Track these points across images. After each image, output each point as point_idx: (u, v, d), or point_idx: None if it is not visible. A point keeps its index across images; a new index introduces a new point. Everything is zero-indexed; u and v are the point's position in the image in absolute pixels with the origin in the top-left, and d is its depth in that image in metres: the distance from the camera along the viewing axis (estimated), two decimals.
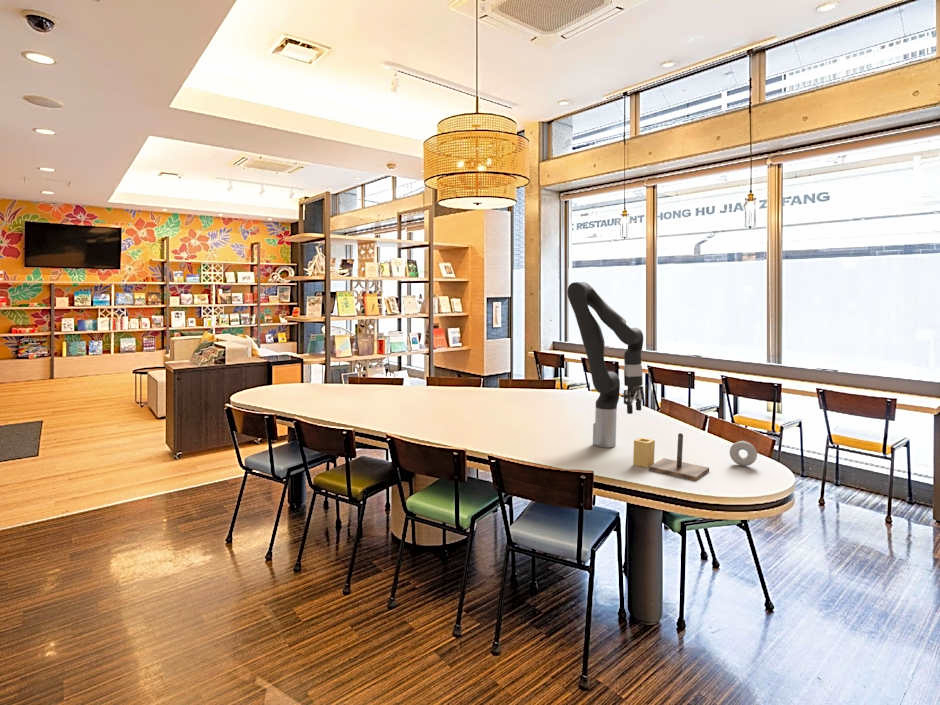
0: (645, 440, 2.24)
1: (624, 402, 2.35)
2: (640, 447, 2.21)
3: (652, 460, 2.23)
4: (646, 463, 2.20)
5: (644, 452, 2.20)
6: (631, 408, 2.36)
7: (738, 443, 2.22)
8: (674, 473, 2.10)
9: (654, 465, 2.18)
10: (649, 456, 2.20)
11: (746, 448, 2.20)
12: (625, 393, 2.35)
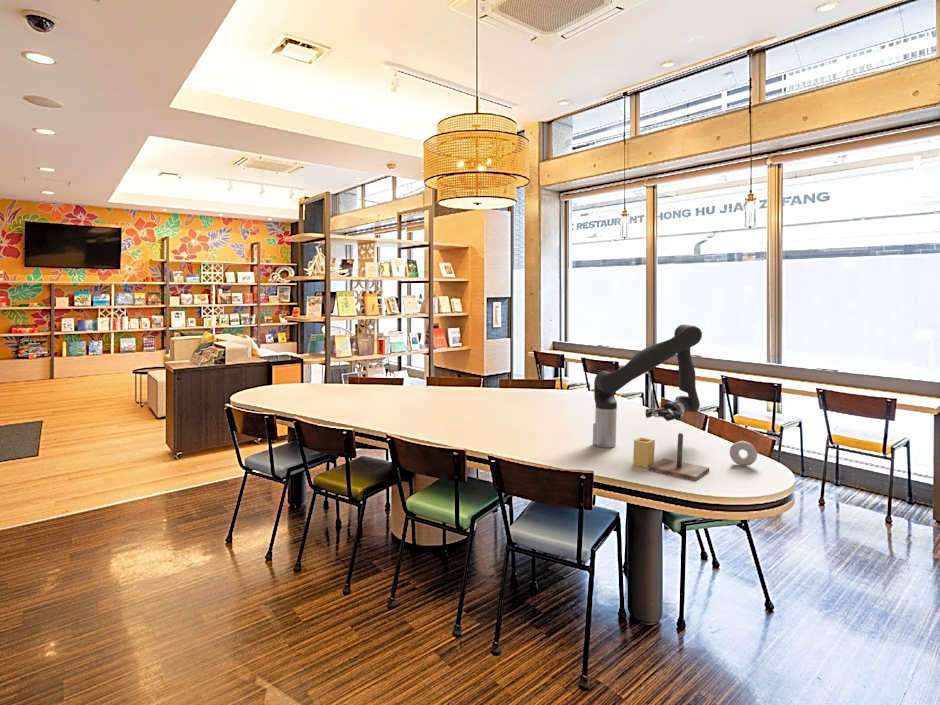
0: (645, 440, 2.24)
1: (679, 415, 2.29)
2: (640, 447, 2.21)
3: (652, 460, 2.23)
4: (646, 463, 2.20)
5: (644, 452, 2.20)
6: (669, 419, 2.29)
7: (738, 443, 2.22)
8: (674, 473, 2.10)
9: (654, 465, 2.18)
10: (649, 456, 2.20)
11: (746, 448, 2.20)
12: (682, 414, 2.32)
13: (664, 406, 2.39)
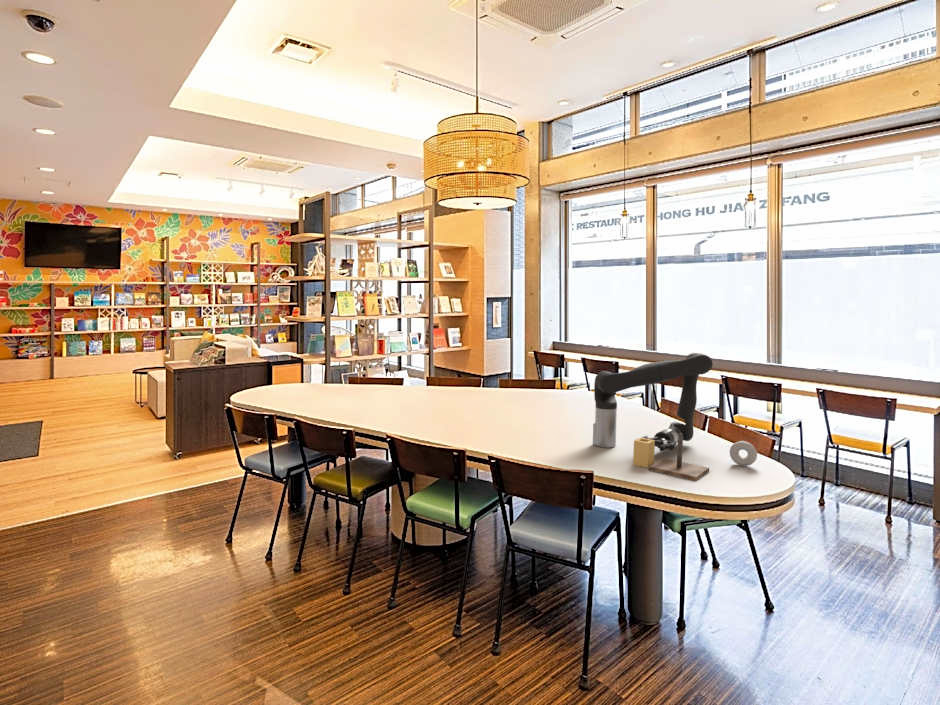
0: (645, 440, 2.24)
1: (672, 445, 2.26)
2: (640, 447, 2.21)
3: (652, 460, 2.23)
4: (646, 463, 2.20)
5: (644, 452, 2.20)
6: None
7: (738, 443, 2.21)
8: (674, 473, 2.10)
9: (654, 465, 2.18)
10: (649, 456, 2.20)
11: (746, 448, 2.20)
12: (675, 444, 2.29)
13: (658, 435, 2.37)
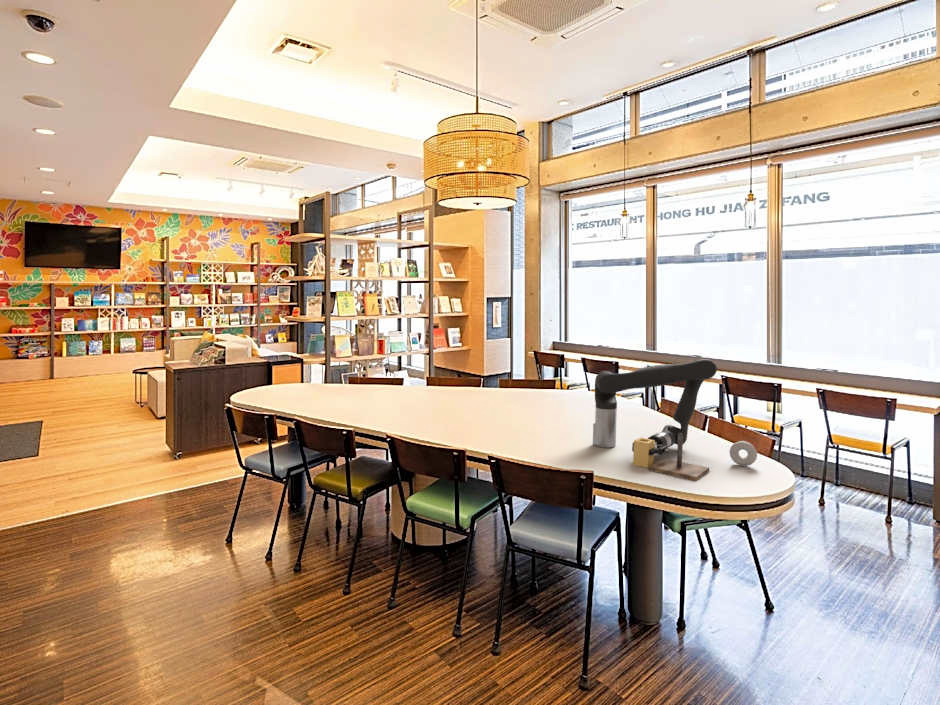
0: (645, 440, 2.24)
1: (661, 449, 2.21)
2: (640, 447, 2.21)
3: (652, 460, 2.23)
4: (646, 463, 2.20)
5: (644, 452, 2.20)
6: None
7: (738, 443, 2.21)
8: (674, 473, 2.10)
9: (654, 465, 2.18)
10: (649, 456, 2.20)
11: (746, 448, 2.20)
12: (666, 448, 2.23)
13: None
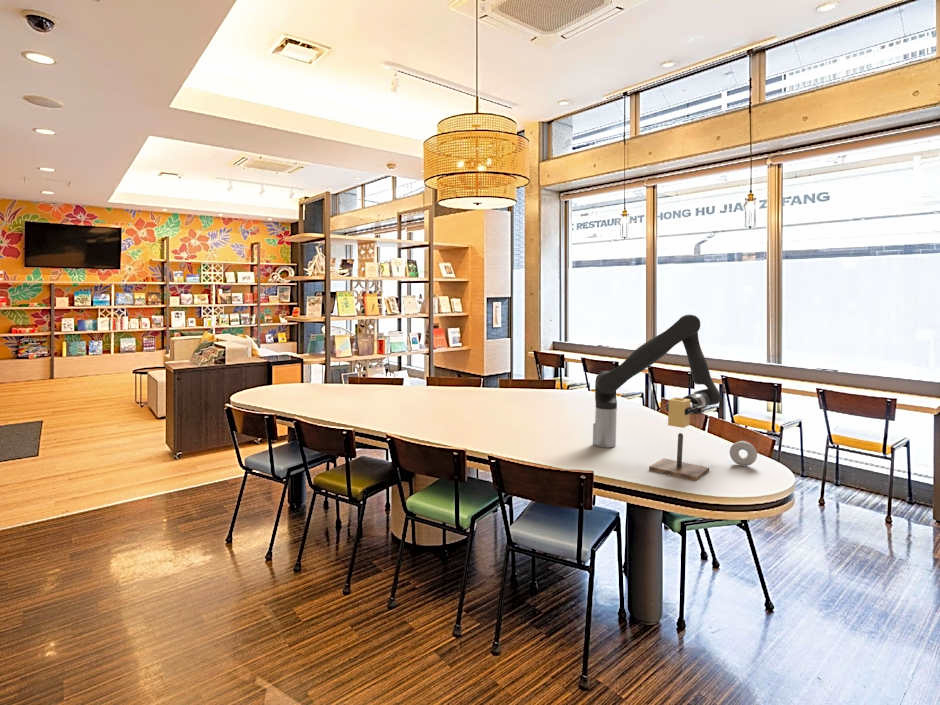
0: (680, 399, 2.15)
1: (698, 408, 2.12)
2: (676, 406, 2.12)
3: (688, 420, 2.14)
4: (682, 423, 2.11)
5: (680, 411, 2.11)
6: (688, 413, 2.12)
7: (738, 443, 2.22)
8: (674, 473, 2.10)
9: (654, 465, 2.18)
10: (685, 415, 2.11)
11: (746, 448, 2.20)
12: (703, 408, 2.14)
13: None
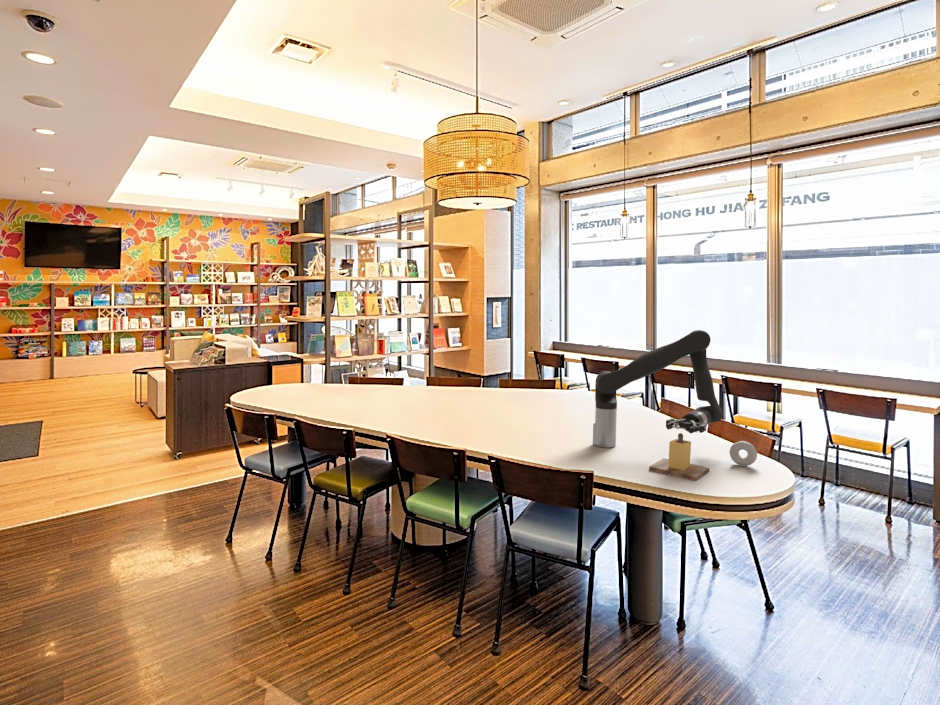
0: None
1: (703, 427, 2.12)
2: (676, 449, 2.13)
3: (688, 462, 2.15)
4: (682, 465, 2.12)
5: (680, 454, 2.12)
6: None
7: (738, 443, 2.22)
8: (674, 473, 2.10)
9: (654, 465, 2.18)
10: (685, 458, 2.12)
11: (746, 448, 2.20)
12: (705, 426, 2.15)
13: (686, 417, 2.22)
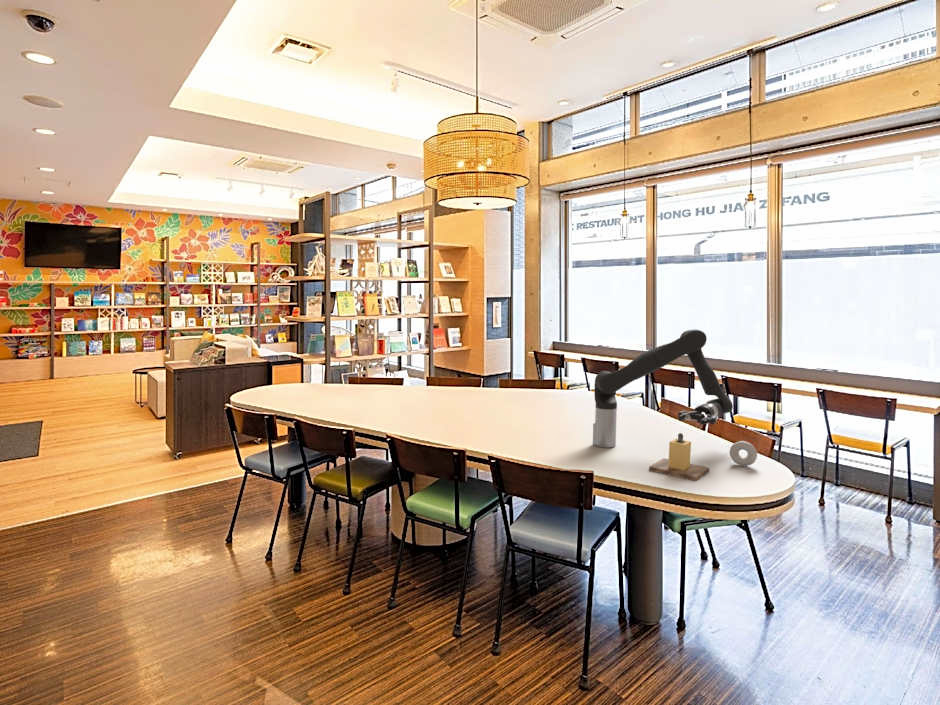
0: None
1: (714, 418, 2.21)
2: (676, 449, 2.13)
3: (688, 462, 2.15)
4: (682, 465, 2.12)
5: (680, 454, 2.12)
6: (704, 423, 2.21)
7: (738, 443, 2.21)
8: (674, 473, 2.10)
9: (654, 465, 2.18)
10: (685, 458, 2.12)
11: (746, 448, 2.19)
12: (716, 418, 2.24)
13: (697, 409, 2.32)
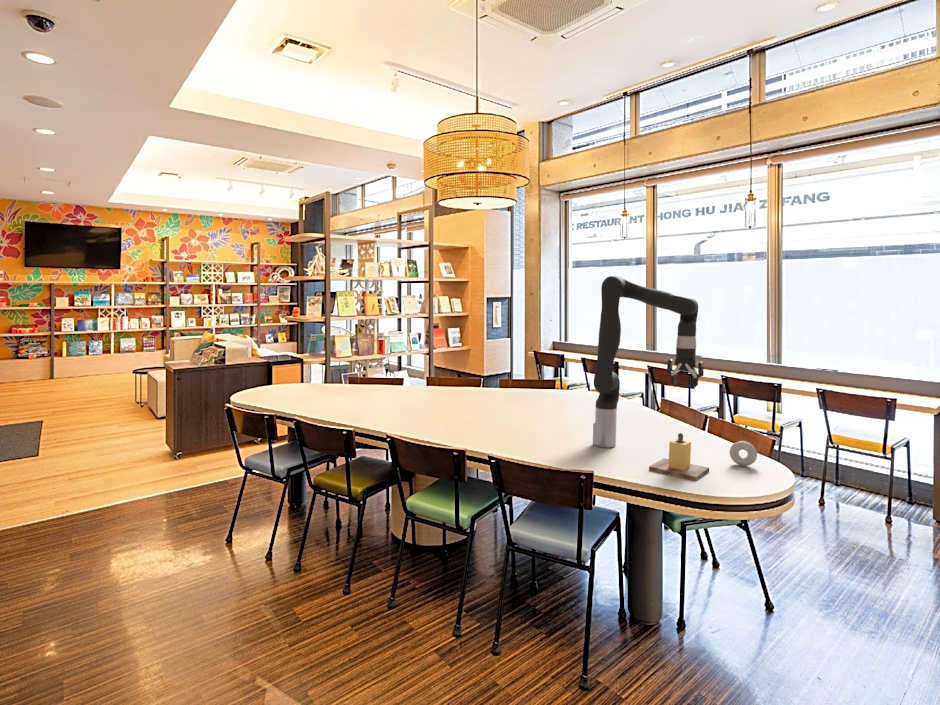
0: None
1: (701, 375, 2.25)
2: (676, 449, 2.13)
3: (688, 462, 2.15)
4: (682, 465, 2.12)
5: (680, 454, 2.12)
6: None
7: (738, 443, 2.21)
8: (674, 473, 2.10)
9: (654, 465, 2.18)
10: (685, 458, 2.12)
11: (746, 448, 2.19)
12: (701, 365, 2.25)
13: (679, 358, 2.29)
